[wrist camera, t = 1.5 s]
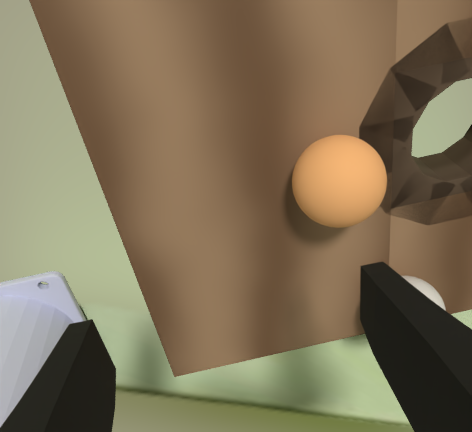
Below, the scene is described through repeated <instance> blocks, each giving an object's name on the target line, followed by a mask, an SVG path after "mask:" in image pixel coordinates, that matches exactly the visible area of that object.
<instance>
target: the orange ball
mask: <svg viewBox="0 0 472 432" xmlns="http://www.w3.org/2000/svg"><path fill="white" fill-rule="evenodd" d="M386 187H387V174H386V169H385V166H384V163H383V161H382V159H381V157H380V155H379V154H378V153H377V152H376V150H375V149H374V148H373V147H372V146H370V145H369V144H368V143H366V142H365V141H363V140H361V139H359V138H356V137H353V136H348V135H332V136H328V137H324V138H322V139H319V140H317V141H316V142H314V143H312V144H311V145H310V146H309V147H307V148H306V149H305V150H304V152H303V153H302V154H301V155H300V157H299V158H298V160H297V162H296V164H295V167H294V170H293V175H292V189H293V194H294V197H295V199H296V202H297V204H298V205H299V207H300V208H301V210H302V211H303V212H304V213H305V214H306V215H307V216H308V217H309V218H310V219H312V220H313V221H315V222H317V223H319V224H321V225H325V226H328V227H335V228H342V227H349V226H353V225H356V224H358V223H360V222H362V221H364V220H366V219H367V218H368V217H370V216H371V215H372V214H373V213H374V212H375V211H376V210H377V209H378V207H379V206H380V204H381V202H382V200H383V198H384V195H385V192H386Z"/></svg>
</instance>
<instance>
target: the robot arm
mask: <svg viewBox="0 0 472 432" xmlns="http://www.w3.org/2000/svg"><path fill="white" fill-rule="evenodd" d="M41 282H47V283H48V284H46V285H45V284H42V283H41ZM360 321H361V324H362V326H363V329H364V332H365V334H366V337H367V339H368V342H369V344H370V347H371V349H372V352H373V354H374V356H375V358H376V360H377V362H378V364H379V366H380V368H381V370H382V372H383V373H384V375H385V377H386V379H387V381H388V383H389V385H390V387H391V389H392V390H393V392H394V394H395V396H396V398H397V400H398V402H399V404H400V405H401V407H402V409H403V411H404V413H405V415H406V417H407V419H408V420H409V422H410V424H411V426H412V428H413V430H414V432H472V329H470V328H469V327H467V326H466V325H464V324H463V323H462V322H460V321H459V320H457V319H456V318H455V317H453V316H452V315H451V314H449V313H448V312H447V311H445V310H444V309H443V308H441V307H440V306H439V305H437V304H436V303H435V302H433V301H432V300H431V299H429V298H428V297H427V296H425V295H424V294H423V293H422V292H420V291H419V290H418V289H417V288H415V287H414V286H413V285H412V284H410V283H409V282H408V281H407V280H406V279H404V278H403V277H402V276H401V275H399V274H398V273H397V272H396V271H395V270H393V269H392V268H391V267H390V266H388V265H387V264H386V263H385V262H383V261H382V262H377V263H372V264H367V265H362V266H361V268H360ZM115 391H116V368H115V366H114V364H113V362H112V360H111V358H110V356H109V353H108V351H107V349H106V347H105V345H104V343H103V341H102V339H101V337H100V335H99V332H98V330H97V328H96V326H95V324H94V322H93V320H86V319H85V317H84V315H83V313H82V311H81V309H80V307H79V305H78V303H77V301H76V299H75V297H74V295H73V293H72V291H71V289H70V287H69V285H68V283H67V281H66V279H65V277H64V276H63V274H61V273H60V272H56V271H51V272H47V273H41V274H37V275H32V276H28V277H23V278H19V279H15V280H10V281H5V282H1V283H0V432H112V425H113V417H114V410H115Z"/></svg>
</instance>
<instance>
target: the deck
mask: <svg viewBox="0 0 472 432" xmlns="http://www.w3.org/2000/svg"><path fill="white" fill-rule="evenodd" d="M29 1H30V3H31V6H32V8H33V11H34V14H35V16H36V19H37V21H38V24H39V26H40V29H41V32H42V34H43V37H44V40H45V42H46V44H47V47H48V50H49V52H50V55H51V57H52V60H53V63H54V66H55V68H56V71H57V73H58V76H59V78H60V81H61V83H62V86H63V89H64V91H65V94H66V97H67V99H68V102H69V104H70V107H71V110H72V112H73V115H74V117H75V120H76V123H77V125H78V128H79V130H80V133H81V136H82V138H83V141H84V143H85V146H86V148H87V151H88V154H89V156H90V159H91V162H92V164H93V167H94V169H95V172H96V174H97V177H98V180H99V182H100V185H101V187H102V190H103V193H104V195H105V198H106V200H107V203H108V206H109V208H110V211H111V213H112V216H113V219H114V221H115V224H116V226H117V229H118V232H119V234H120V237H121V239H122V242H123V245H124V247H125V249H126V252H127V255H128V257H129V260H130V263H131V265H132V268H133V270H134V273H135V276H136V278H137V281H138V283H139V286H140V289H141V291H142V294H143V296H144V299H145V302H146V304H147V307H148V309H149V312H150V315H151V317H152V320H153V322H154V325H155V328H156V330H157V333H158V335H159V338H160V340H161V343H162V346H163V348H164V351H165V353H166V356H167V359H168V361H169V364H170V366H171V369H172V372H173V374H174V377H176V376H181V375H185V374H189V373H194V372H198V371H203V370H207V369H211V368H216V367H220V366H224V365H229V364H233V363H238V362H242V361H246V360H251V359H255V358H260V357H264V356H268V355H273V354H277V353H282V352H286V351H290V350H295V349H299V348H303V347H308V346H312V345H317V344H321V343H325V342H330V341H334V340H339V339H343V338H347V337H352V336H356V335H361V334H365V332H364V329H363V326H362V324H361V321H360V268H361V266H362V265H367V264H372V263H377V262H382V261H383V262H385V263H386V264H387V265H388V266H390V267H391V268H392V269H393V270H395V271H396V272H397V273H398V274H399V275H401V276H413V277H416V278H419V279H422V280H424V281H426V282H427V283H429V284H430V285H431V286H433V287H434V288H435V290H436V291H437V292H438V293H439V295H440V296H441V298H442V300H443V302H444V305H445V308H446V311H447V312H448V313H449V314H453V313H457V312H461V311H466V310H470V309H472V125H471V126H470V128H469V129H468V131H467V132H466V134H465V136H464V137H463V138H462V139H460V140H459V141H457V142H456V143H455V144H453V145H452V146H450V147H449V148H448V149H446V150H445V151H444V152H442V153H438V154H434V155H429V156H425V157H420V158H417V157H413V156H411V151H412V150H411V149H412V133H413V128H414V127H415V125H416V123H417V121H418V120H419V118H420V116H421V115H422V113H423V111H424V109H425V108H426V106H427V104H428V102H429V101H431V100H432V99H433V98H435V97H436V96H437V95H439V94H440V93H441V92H443V91H444V90H445V89H446V88H448V87H449V86H450V85H452V84H453V83H454V82H456V81H460V80H464V79H469V78H472V0H29ZM332 135H348V136H353V137H356V138H359V139H361V140H363V141H365V142H366V143H368V144H369V145H370V146H372V147H373V148H374V149H375V150H376V152H377V153H378V154H379V155H380V157H381V159H382V161H383V163H384V166H385V169H386V174H387V187H386V192H385V195H384V198H383V200H382V202H381V204H380V206H379V207H378V209H377V210H376V211H375V212H374V213H373V214H372V215H371V216H370V217H368V218H367V219H366V220H364V221H362V222H360V223H358V224H356V225H353V226H349V227H342V228H335V227H328V226H325V225H321V224H319V223H317V222H315V221H313V220H312V219H310V218H309V217H308V216H307V215H306V214H305V213H304V212H303V211H302V210H301V208H300V207H299V205H298V204H297V202H296V199H295V197H294V194H293V189H292V175H293V170H294V167H295V164H296V162H297V160H298V158H299V157H300V155H301V154H302V153H303V152H304V150H305V149H306V148H307V147H309V146H310V145H311V144H312V143H314V142H316V141H317V140H319V139H322V138H324V137H328V136H332Z"/></svg>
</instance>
